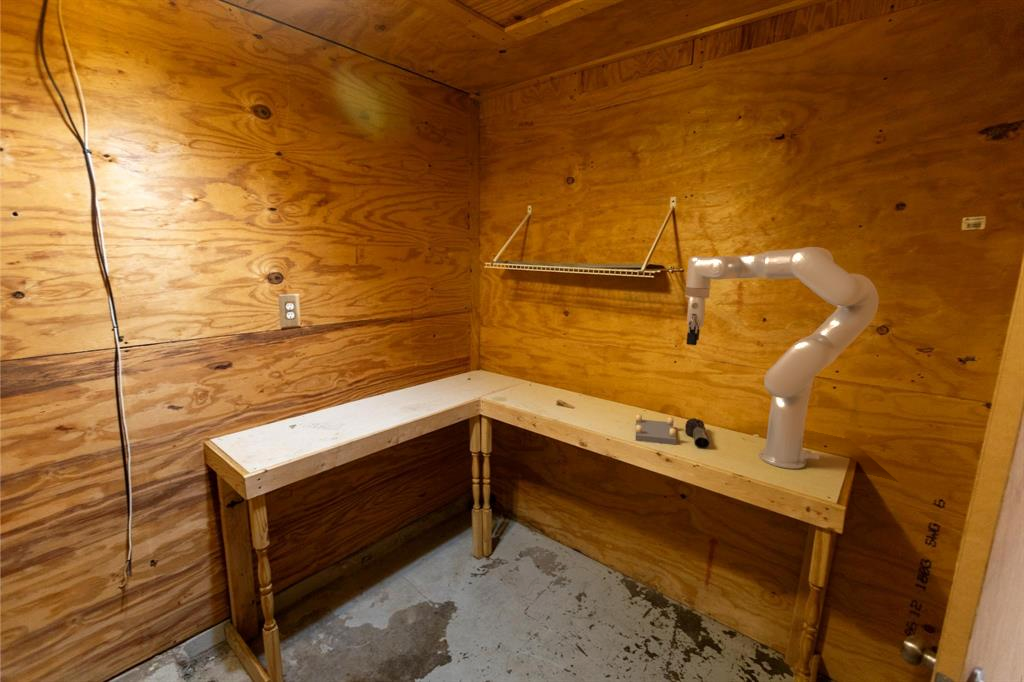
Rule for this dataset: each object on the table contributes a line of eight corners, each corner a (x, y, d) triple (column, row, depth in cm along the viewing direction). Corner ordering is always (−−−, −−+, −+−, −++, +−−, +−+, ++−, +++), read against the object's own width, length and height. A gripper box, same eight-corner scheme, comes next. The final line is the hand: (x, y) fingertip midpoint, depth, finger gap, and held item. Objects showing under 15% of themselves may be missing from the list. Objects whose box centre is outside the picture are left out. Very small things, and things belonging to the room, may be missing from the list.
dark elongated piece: (709, 450, 150) (711, 434, 148) (687, 448, 151) (688, 432, 150) (703, 430, 166) (704, 415, 165) (683, 428, 168) (684, 414, 167)
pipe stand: (672, 427, 168) (673, 415, 167) (675, 444, 153) (676, 432, 152) (635, 424, 172) (636, 412, 171) (635, 440, 156) (636, 428, 156)
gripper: (708, 295, 146) (702, 348, 150) (710, 291, 162) (705, 339, 165) (683, 294, 150) (678, 345, 153) (687, 290, 165) (683, 337, 168)
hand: (692, 342), depth 159 cm, fingers open, 9 cm apart
